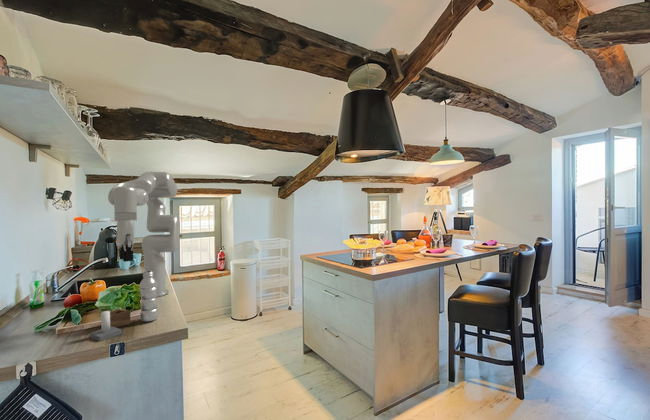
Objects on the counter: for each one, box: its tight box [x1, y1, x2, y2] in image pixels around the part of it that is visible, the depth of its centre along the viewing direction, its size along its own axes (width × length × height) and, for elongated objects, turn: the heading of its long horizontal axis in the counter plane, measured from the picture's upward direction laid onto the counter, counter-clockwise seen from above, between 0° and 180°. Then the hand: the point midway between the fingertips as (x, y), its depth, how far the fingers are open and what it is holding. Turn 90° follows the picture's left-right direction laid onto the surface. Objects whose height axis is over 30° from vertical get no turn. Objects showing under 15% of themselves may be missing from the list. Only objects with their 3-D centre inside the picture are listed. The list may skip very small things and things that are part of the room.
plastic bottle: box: [138, 271, 159, 323], centre depth 122 cm, size 6×7×20 cm
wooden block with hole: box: [109, 307, 131, 329], centre depth 118 cm, size 7×7×5 cm
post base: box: [89, 310, 123, 342], centre depth 109 cm, size 7×7×8 cm
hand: (126, 260), depth 121 cm, fingers open, 9 cm apart
